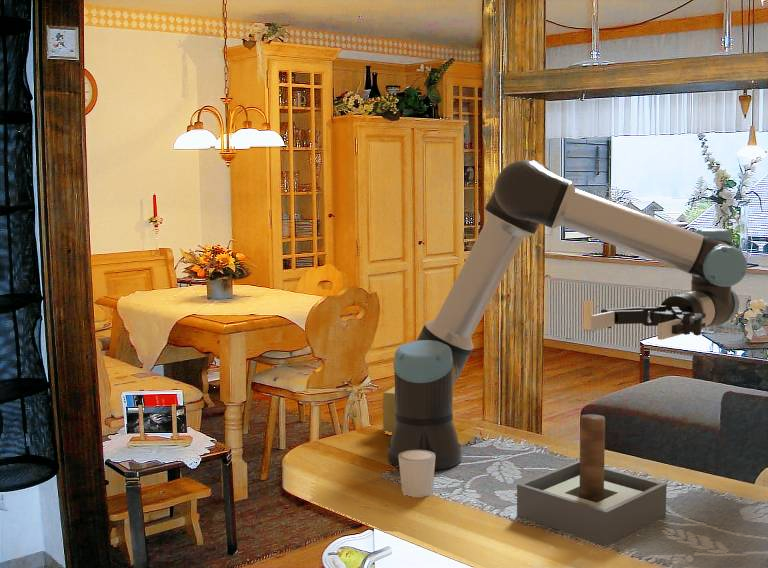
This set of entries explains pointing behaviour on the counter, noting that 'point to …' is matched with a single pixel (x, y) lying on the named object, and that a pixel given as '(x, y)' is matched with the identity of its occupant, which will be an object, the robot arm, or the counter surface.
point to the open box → (592, 504)
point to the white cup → (417, 472)
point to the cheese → (389, 410)
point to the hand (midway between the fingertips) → (624, 327)
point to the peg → (592, 457)
